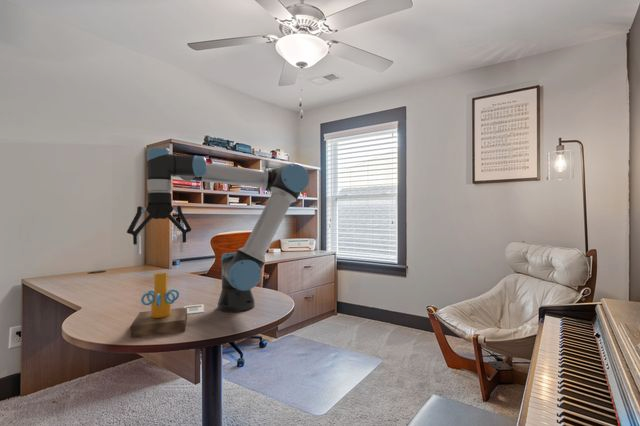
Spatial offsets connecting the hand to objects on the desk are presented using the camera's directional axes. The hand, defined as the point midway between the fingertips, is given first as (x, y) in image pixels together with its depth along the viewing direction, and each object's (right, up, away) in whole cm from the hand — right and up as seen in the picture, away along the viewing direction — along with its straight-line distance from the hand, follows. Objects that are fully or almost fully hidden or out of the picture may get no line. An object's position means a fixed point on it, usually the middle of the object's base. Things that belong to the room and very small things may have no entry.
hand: (160, 253), depth 116 cm
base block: (0, -26, 0) cm, 26 cm away
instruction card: (+3, -26, +21) cm, 34 cm away
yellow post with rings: (0, -22, 0) cm, 22 cm away
